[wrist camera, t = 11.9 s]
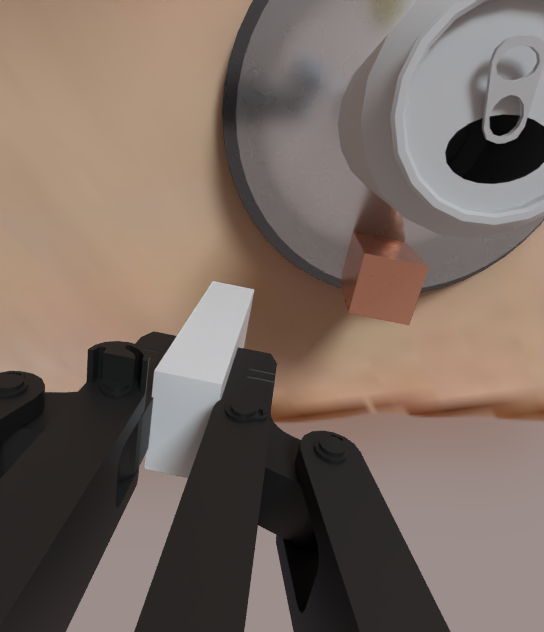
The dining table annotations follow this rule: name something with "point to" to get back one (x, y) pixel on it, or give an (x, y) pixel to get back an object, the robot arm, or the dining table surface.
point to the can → (453, 116)
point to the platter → (337, 160)
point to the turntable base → (236, 164)
